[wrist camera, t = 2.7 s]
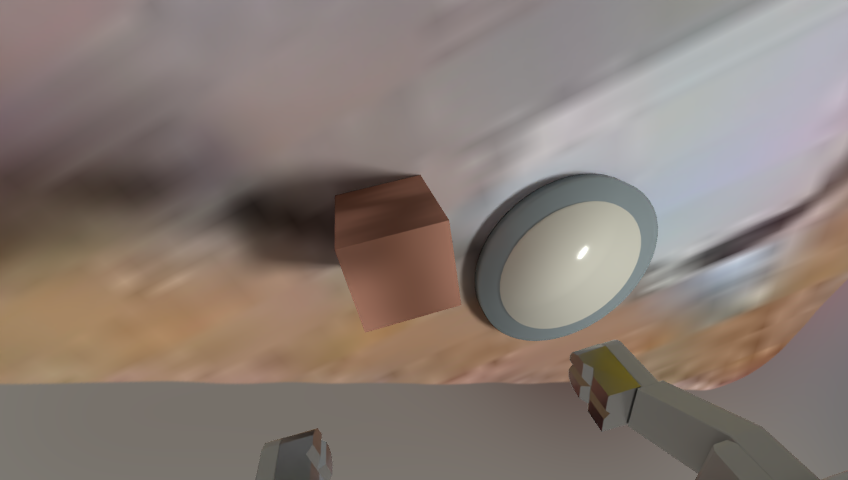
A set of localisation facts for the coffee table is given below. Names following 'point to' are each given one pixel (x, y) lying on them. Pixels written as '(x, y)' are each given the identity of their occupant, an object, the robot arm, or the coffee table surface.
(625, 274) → the dish
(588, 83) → the coffee table surface
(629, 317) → the coffee table surface
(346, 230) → the block
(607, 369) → the robot arm
